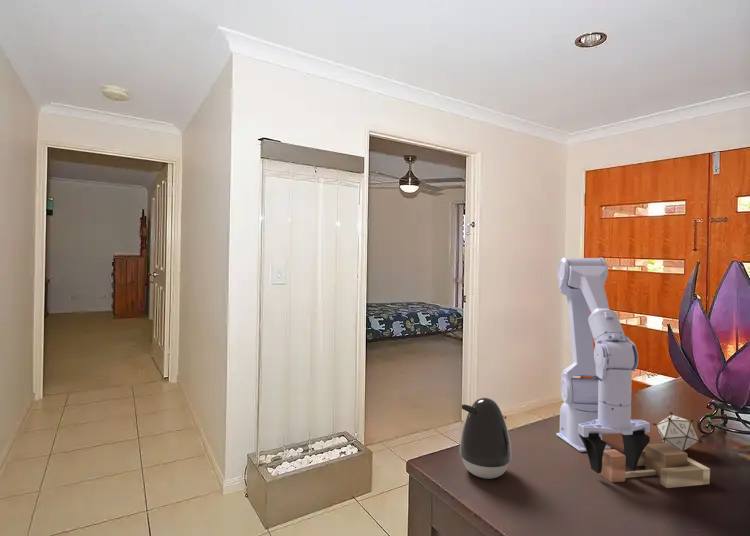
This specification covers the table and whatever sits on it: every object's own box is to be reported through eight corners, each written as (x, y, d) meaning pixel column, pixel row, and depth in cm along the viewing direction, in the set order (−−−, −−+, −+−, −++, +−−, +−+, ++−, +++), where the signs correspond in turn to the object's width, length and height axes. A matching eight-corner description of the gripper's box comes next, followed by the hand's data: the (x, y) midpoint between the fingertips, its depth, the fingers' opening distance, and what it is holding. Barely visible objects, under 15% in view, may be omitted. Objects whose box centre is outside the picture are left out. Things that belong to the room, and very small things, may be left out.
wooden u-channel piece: (627, 463, 91) (627, 449, 91) (666, 459, 93) (666, 446, 93) (666, 488, 81) (667, 472, 81) (709, 484, 83) (709, 468, 83)
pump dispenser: (450, 463, 90) (450, 392, 90) (493, 457, 93) (494, 388, 93) (473, 488, 81) (474, 409, 80) (521, 481, 83) (522, 404, 83)
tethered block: (597, 472, 87) (598, 447, 87) (666, 466, 90) (666, 442, 90) (615, 485, 82) (615, 459, 82) (687, 478, 85) (687, 453, 85)
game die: (668, 461, 100) (656, 418, 105) (711, 459, 95) (696, 413, 100) (656, 452, 95) (644, 407, 100) (701, 449, 90) (686, 402, 95)
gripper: (595, 410, 79) (593, 482, 80) (663, 406, 82) (661, 476, 82) (571, 398, 86) (570, 464, 87) (635, 394, 89) (633, 459, 89)
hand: (613, 469), depth 85 cm, fingers open, 7 cm apart
